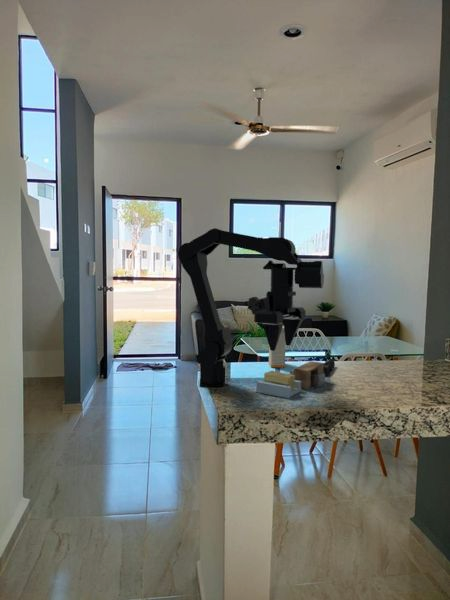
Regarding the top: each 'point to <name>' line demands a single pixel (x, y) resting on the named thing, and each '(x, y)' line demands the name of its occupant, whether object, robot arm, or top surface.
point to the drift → (315, 379)
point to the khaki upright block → (280, 378)
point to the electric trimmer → (328, 366)
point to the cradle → (278, 389)
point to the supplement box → (278, 352)
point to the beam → (307, 373)
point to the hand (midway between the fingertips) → (280, 347)
